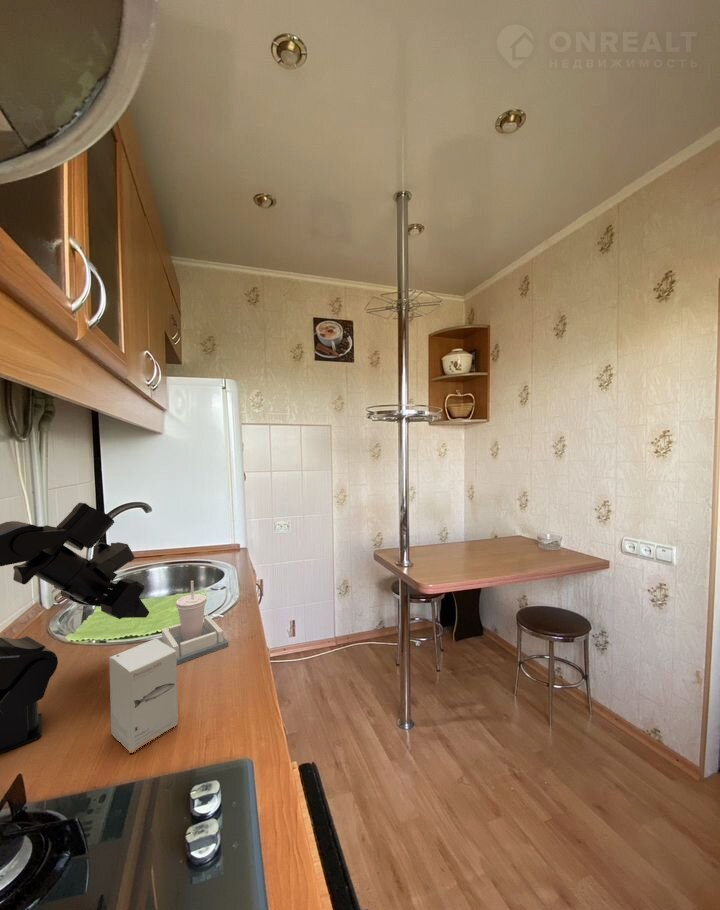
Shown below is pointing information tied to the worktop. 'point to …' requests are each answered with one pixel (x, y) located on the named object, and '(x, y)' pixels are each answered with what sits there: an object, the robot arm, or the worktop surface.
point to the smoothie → (191, 614)
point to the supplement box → (143, 693)
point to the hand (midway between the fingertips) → (133, 610)
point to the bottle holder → (194, 641)
